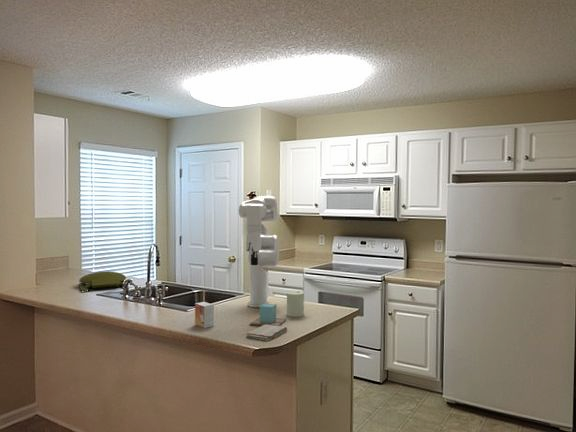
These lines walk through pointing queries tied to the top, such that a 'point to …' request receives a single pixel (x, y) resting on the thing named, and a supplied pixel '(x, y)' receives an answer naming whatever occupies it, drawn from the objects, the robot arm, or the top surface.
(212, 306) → the small box
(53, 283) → the top surface
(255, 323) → the post board
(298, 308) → the can
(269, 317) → the teal block
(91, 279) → the green cushion
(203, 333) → the top surface
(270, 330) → the washcloth
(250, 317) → the top surface
